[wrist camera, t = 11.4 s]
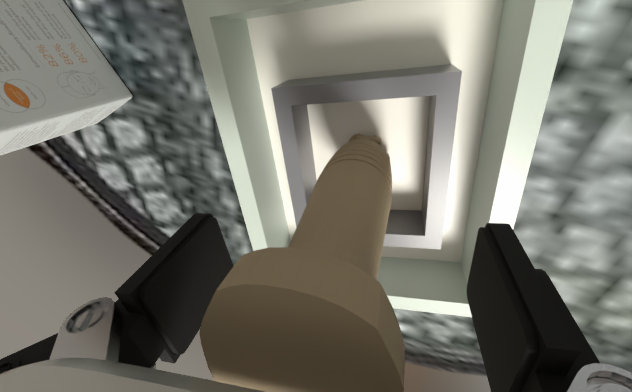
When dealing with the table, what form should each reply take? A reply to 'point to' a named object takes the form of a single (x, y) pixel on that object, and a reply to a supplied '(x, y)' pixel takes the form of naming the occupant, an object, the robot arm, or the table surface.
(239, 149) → the housing
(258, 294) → the handle
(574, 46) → the table surface
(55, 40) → the small box
